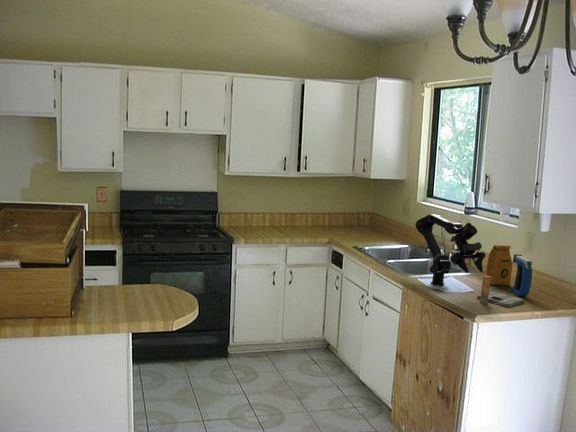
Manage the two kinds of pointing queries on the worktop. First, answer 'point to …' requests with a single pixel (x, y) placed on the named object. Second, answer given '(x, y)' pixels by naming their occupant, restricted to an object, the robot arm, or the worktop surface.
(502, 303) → the grey square tile
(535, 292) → the worktop surface
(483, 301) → the wooden block
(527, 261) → the blue curved piece
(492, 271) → the coffee package
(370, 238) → the worktop surface
